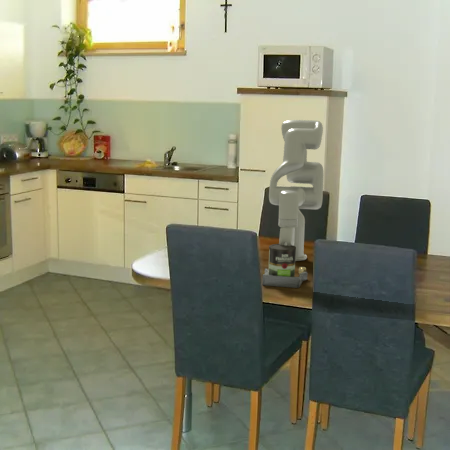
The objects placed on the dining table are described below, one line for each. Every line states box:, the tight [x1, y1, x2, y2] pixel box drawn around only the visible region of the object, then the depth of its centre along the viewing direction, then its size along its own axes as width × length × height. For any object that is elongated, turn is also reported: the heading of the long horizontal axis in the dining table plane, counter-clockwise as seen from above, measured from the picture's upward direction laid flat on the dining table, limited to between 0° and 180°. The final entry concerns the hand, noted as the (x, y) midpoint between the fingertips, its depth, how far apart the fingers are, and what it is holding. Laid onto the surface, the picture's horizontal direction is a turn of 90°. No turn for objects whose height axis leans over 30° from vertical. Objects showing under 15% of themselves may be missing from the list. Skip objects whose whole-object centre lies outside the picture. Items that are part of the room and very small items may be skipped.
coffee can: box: [268, 243, 296, 277], centre depth 263 cm, size 10×10×14 cm
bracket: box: [261, 268, 308, 289], centre depth 265 cm, size 13×17×4 cm
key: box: [298, 266, 307, 275], centre depth 280 cm, size 7×3×1 cm, turn 166°
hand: (286, 267), depth 272 cm, fingers closed
